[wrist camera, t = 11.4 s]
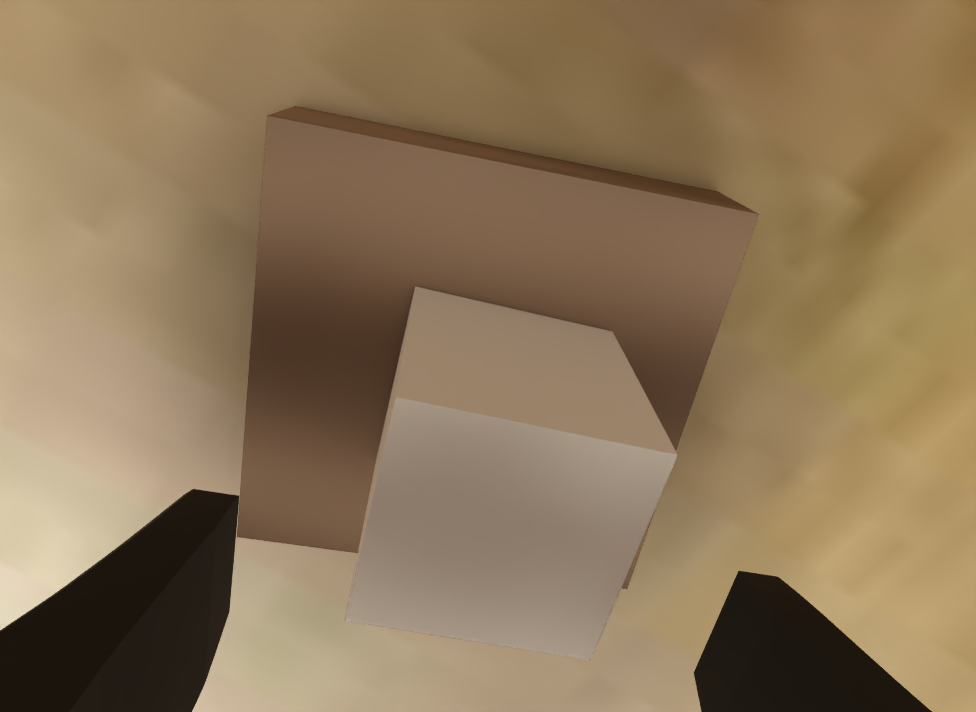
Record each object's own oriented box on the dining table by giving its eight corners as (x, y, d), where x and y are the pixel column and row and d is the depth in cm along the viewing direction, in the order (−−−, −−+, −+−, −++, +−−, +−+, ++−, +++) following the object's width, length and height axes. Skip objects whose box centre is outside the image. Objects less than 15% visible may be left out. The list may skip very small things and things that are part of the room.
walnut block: (605, 518, 21) (626, 589, 18) (267, 470, 20) (236, 536, 17) (710, 187, 17) (759, 214, 14) (299, 104, 16) (267, 115, 13)
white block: (555, 494, 17) (590, 660, 12) (376, 459, 16) (344, 620, 12) (612, 331, 15) (678, 454, 11) (415, 286, 15) (396, 397, 10)
